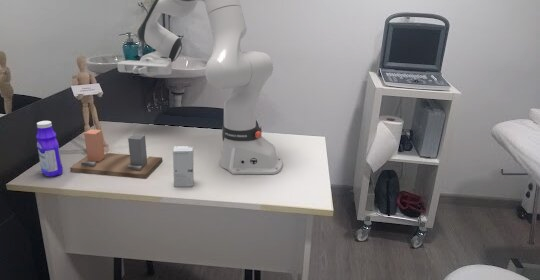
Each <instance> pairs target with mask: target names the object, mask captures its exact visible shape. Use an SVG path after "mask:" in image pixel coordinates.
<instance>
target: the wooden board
mask: <svg viewBox="0 0 540 280" xmlns="http://www.w3.org/2000/svg"><path fill="white" fill-rule="evenodd" d="M104 153H105V157H104V158H103V159H102V160H101V161H99V162H96V161H88V158H87V155H86V156H85V157H82V158H81V159H80V160H79V161H77V162H76V163H74V164H73V165H72V166H70V168H69V170H70V172H71V173H79V174H80V173H81V174H92V175H102V176H113V177H125V178H135V179H148V178H149V177H150V175H151V174H152V173H153V172H155V170H156V169H157V167H159V166H160V164H162V162H163V157H160V156H159V157H158V156H150V155H147V163H146V164H145V165H144V166H143V167H142V166H137V165H131V163H130V154H125V153H115V152H113V153H111V152H105V151H104Z"/></svg>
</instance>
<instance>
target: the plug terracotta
mask: <svg viewBox="0 0 540 280" xmlns="http://www.w3.org/2000/svg"><path fill="white" fill-rule="evenodd" d="M83 135H84V143H85V148H86V149H85V150H86V151H85V152H86V156H87V158H88V161H96V162H99V161H101V160H102V159H103V158H104V157H105V153H104V152H105V146H104V138H103V130H101V129H92V128H91V129H89V130H87V131H86V132H84V134H83Z"/></svg>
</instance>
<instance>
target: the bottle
mask: <svg viewBox="0 0 540 280" xmlns="http://www.w3.org/2000/svg"><path fill="white" fill-rule="evenodd" d="M36 129H37V134H36V136H35V138H36V139H37V142H36V147H37V151H38V152H37V153H38V157H39V163H40V170H41V172H42V174H43V175H45V176H47V177H55V176H59V175H61V174H62V173H63V171H64V169H63V168H64V167H63V164H62V158H61V151H60V145H59V141H58V140H57V138H56V137H57V133H56V132H55V131H54V129H53V124H52V121H50V120H42V121H38V122H36Z"/></svg>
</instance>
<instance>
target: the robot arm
mask: <svg viewBox="0 0 540 280" xmlns="http://www.w3.org/2000/svg"><path fill="white" fill-rule="evenodd" d="M198 2H203V3H204V5H205V9H206V12H207V13H206V15H207V17H208V20H209V25H210V29H211V33H212V38H213V49H212V53H211V56H210V58H209V59H208V61H207V63H206V65H205V68H204V75H205V78H206V81H207V83H208V84H209V85H210V86H211V88H214V89H218V90H231V89H232V92H231V93H230V95H229V96H228V97H227V98H226V100H225V101H224V103H223V125H222V128H221V138H222V141H223V142H222V150H221V154H220V155H221V156H220V159H219V161H218V162H219V163H218V164H219V166H220V167H221V168H223V169H225V170H228V171H229V173H231V175H232V174H233V175H276V174H278V173H280V171H282V169H283V165H284V164H283V158H282V157H280V156H279V155H277V150H276V147H275V145H274V144H272V143H271V142H270V141H269V140H267V139H266V138H264V137H263V136H262V134H263V133H262V126H261V125H260V127H259V125H257V109H258V102H259V98H260V95H261V92H262V91H263V90H262V89H263V87H264V85H265V84H266V82H267V81H268V80H269V79H270V78H271V76H272V74H273V71H274V66H273V61H272V58H271V57H270V55H269V54H267V53H266V52H262V51H255V50H250V51H243V52H242V51H241V40H242V39H243V38H244V37H245V36H246V34H247V25H246V21H245V18H244V14H243V9H242V6H241V3H240V0H154V1H153V3H152V4H151V6H150V8H149V10H148V12H147V14H146V15H145V18H144V20H143V21H142V23H141V24H140V25H139V27H138V29H137V37H138V38H139V39H138V40H139V41H140V42H142V43H144V44H145V45H147V46H149V47H151V49H154V50H155V51H152V52H149V53H147V54H144V55H142V56H141V57H140V59H139V60H133V59H132V60H131V59H130V60H122V61H118V63H117V66H116V67H117V71H118V72H119V73H130V74H131V73H132V74H138V75H139V74H141V75H142V74H143V75H145V76H147V77H155V76H160V75H161V76H162V75H163V76H168V75H169V76H170V75H171V74H172V73H173V72H172V70H173V67H172V66H173V63H174V62H175V61H176V60H177V59H178V57H179V56H180V54H181V53H182V50H183V42H182V39H181V37H179V36H178V35H176V34H175V33H173V32H171V31H169V30H168V29H167V28H166V27H164V26H162V25H161V24H160V23H159V22H158V20H159V19H160V17H161V15H162V14H165V15H169V16H171V17H176V18H184V17H188V16H190V15H191V14H192V13H193V12H194V10H195V8H197V7H196V6H197V4H198Z"/></svg>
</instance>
